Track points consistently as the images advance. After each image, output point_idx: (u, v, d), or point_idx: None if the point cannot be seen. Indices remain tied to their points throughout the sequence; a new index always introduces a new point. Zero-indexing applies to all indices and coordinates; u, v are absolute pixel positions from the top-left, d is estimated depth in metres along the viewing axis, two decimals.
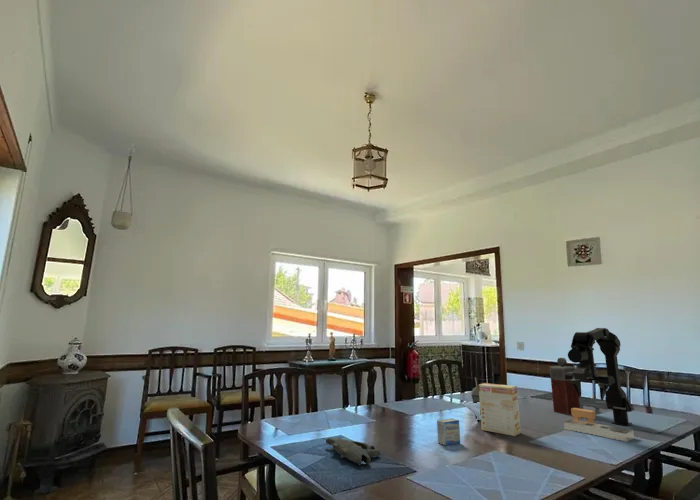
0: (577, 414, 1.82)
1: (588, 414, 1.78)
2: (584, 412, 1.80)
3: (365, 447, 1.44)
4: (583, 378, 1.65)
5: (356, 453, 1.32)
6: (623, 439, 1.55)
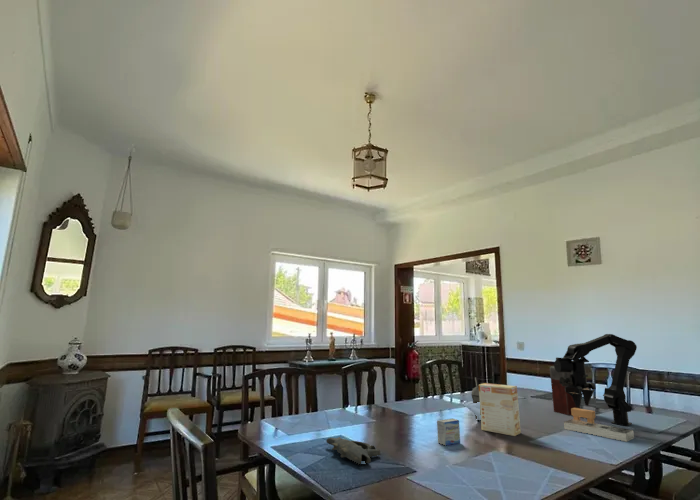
0: (577, 414, 1.82)
1: (588, 414, 1.78)
2: (584, 412, 1.80)
3: (365, 447, 1.44)
4: None
5: (356, 453, 1.32)
6: (623, 439, 1.55)
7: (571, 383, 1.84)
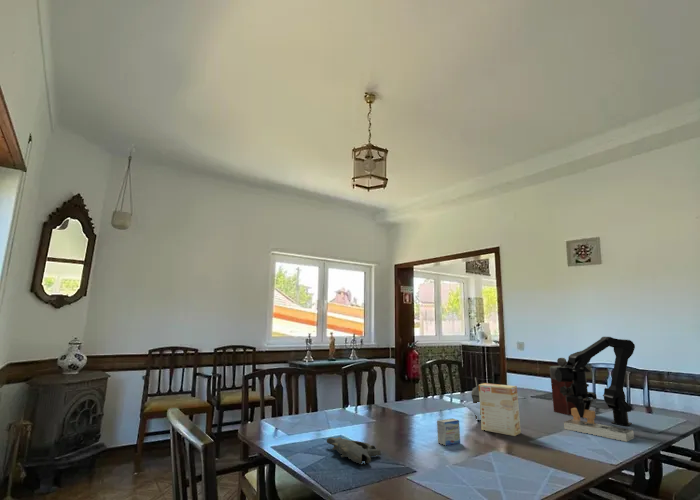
0: (577, 414, 1.82)
1: (588, 414, 1.78)
2: (584, 412, 1.80)
3: (366, 447, 1.44)
4: None
5: (356, 452, 1.32)
6: (623, 439, 1.55)
7: (572, 393, 1.84)
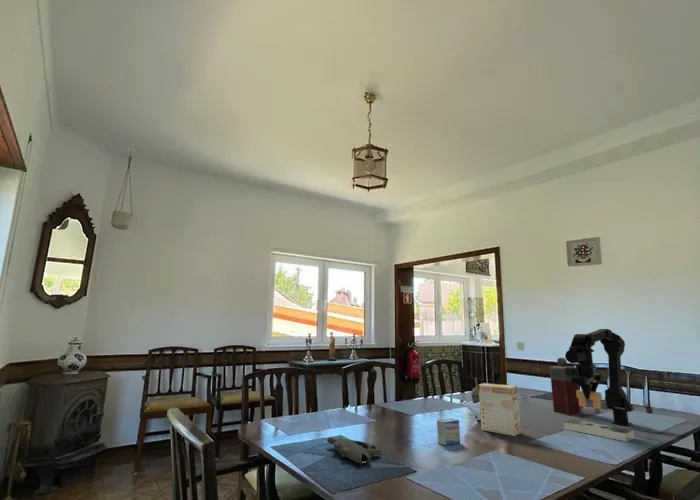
0: (582, 396, 1.74)
1: (594, 396, 1.70)
2: (590, 394, 1.71)
3: (366, 446, 1.44)
4: None
5: (357, 452, 1.33)
6: (623, 439, 1.55)
7: (577, 374, 1.75)
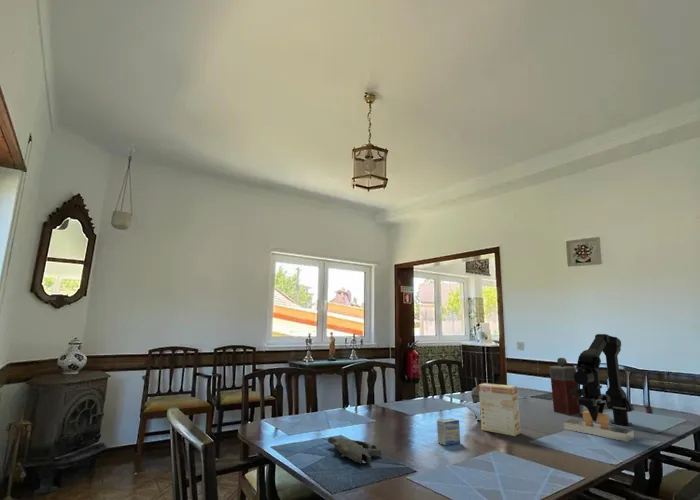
0: (589, 418, 1.68)
1: (602, 418, 1.64)
2: (597, 416, 1.66)
3: (366, 446, 1.45)
4: (573, 396, 1.74)
5: (357, 452, 1.33)
6: (623, 439, 1.55)
7: (584, 395, 1.70)
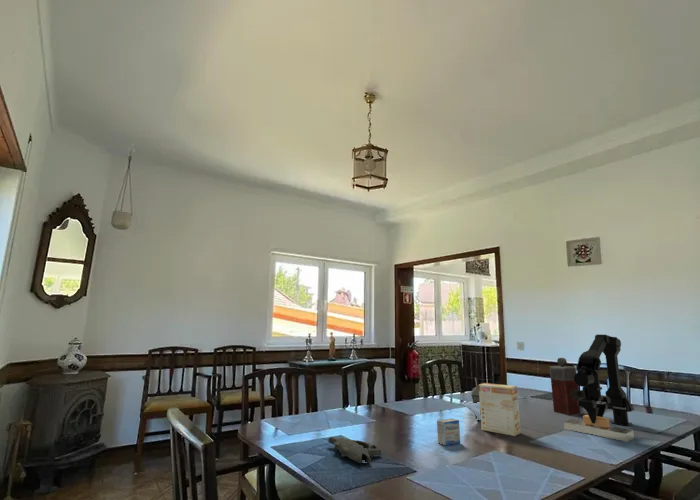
0: (590, 422, 1.68)
1: (602, 422, 1.64)
2: (597, 420, 1.65)
3: (367, 446, 1.45)
4: None
5: (357, 452, 1.33)
6: (623, 439, 1.55)
7: (584, 396, 1.69)
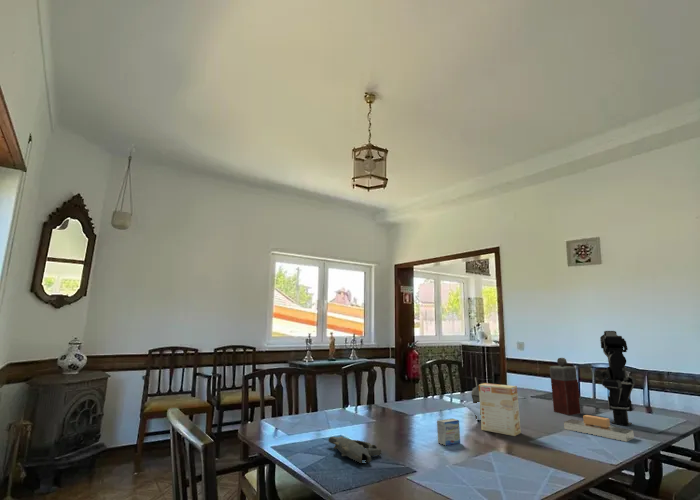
0: (590, 422, 1.68)
1: (602, 422, 1.64)
2: (598, 420, 1.65)
3: (367, 446, 1.45)
4: None
5: (357, 452, 1.33)
6: (623, 439, 1.55)
7: (609, 377, 1.70)
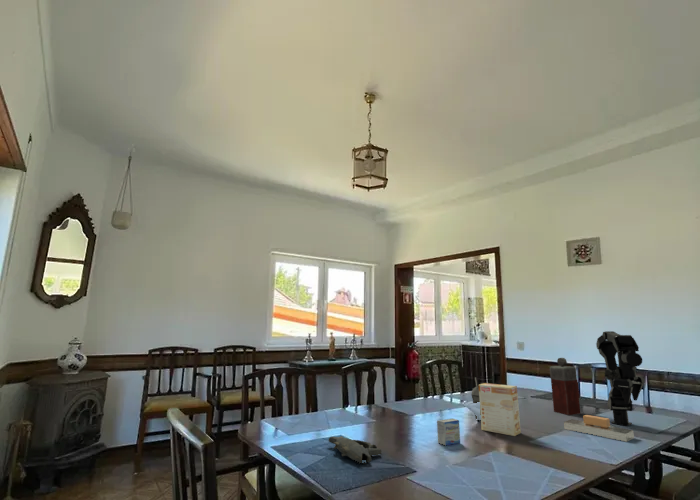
0: (590, 422, 1.68)
1: (602, 422, 1.64)
2: (598, 420, 1.65)
3: (367, 446, 1.45)
4: (607, 378, 1.74)
5: (357, 452, 1.33)
6: (623, 439, 1.55)
7: (618, 376, 1.70)
